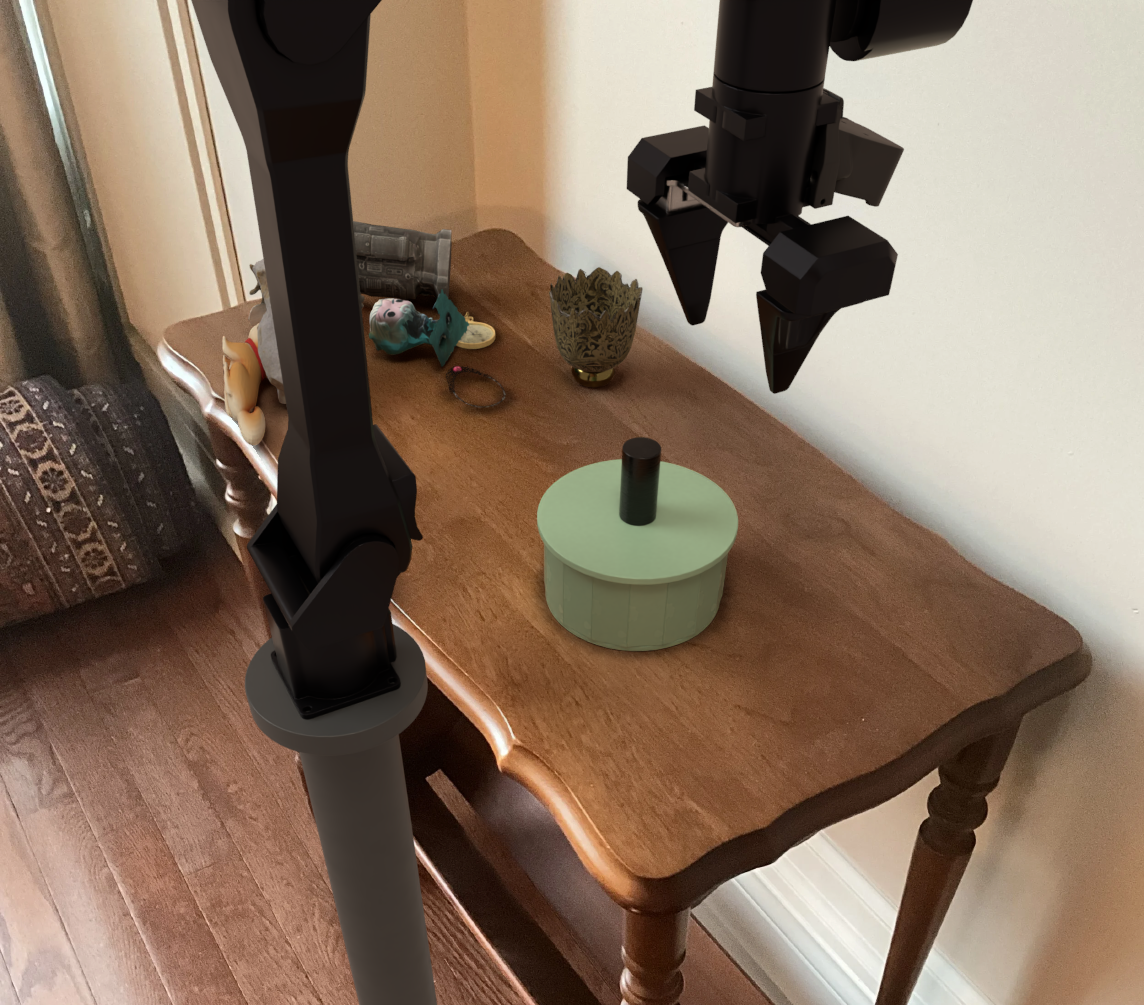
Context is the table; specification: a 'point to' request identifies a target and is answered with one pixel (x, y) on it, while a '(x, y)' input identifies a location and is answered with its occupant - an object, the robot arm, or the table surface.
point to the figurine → (416, 327)
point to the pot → (632, 607)
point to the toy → (244, 386)
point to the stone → (268, 336)
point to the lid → (637, 519)
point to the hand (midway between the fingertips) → (736, 355)
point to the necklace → (456, 369)
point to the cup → (594, 323)
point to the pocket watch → (476, 335)
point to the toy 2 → (402, 261)
